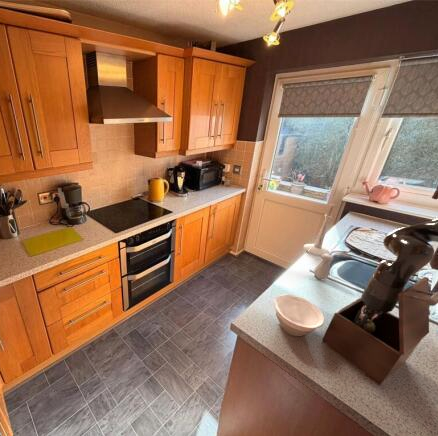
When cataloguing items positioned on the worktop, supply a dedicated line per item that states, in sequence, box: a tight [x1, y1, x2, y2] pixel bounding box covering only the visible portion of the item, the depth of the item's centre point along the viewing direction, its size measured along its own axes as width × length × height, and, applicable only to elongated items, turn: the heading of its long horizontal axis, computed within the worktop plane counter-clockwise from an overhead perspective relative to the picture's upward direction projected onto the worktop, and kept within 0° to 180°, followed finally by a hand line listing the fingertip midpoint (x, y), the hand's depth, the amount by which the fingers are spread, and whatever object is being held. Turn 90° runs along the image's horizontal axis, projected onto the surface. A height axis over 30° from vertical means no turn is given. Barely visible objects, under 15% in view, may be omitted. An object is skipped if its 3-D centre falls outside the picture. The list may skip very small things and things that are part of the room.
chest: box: [321, 297, 423, 386], centre depth 76 cm, size 17×17×14 cm
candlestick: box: [303, 203, 336, 257], centre depth 131 cm, size 13×13×30 cm
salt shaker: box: [313, 254, 334, 280], centre depth 112 cm, size 6×6×13 cm
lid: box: [397, 276, 438, 355], centre depth 63 cm, size 17×17×5 cm
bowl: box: [273, 294, 325, 337], centre depth 87 cm, size 16×16×9 cm
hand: (361, 329), depth 78 cm, fingers open, 7 cm apart
